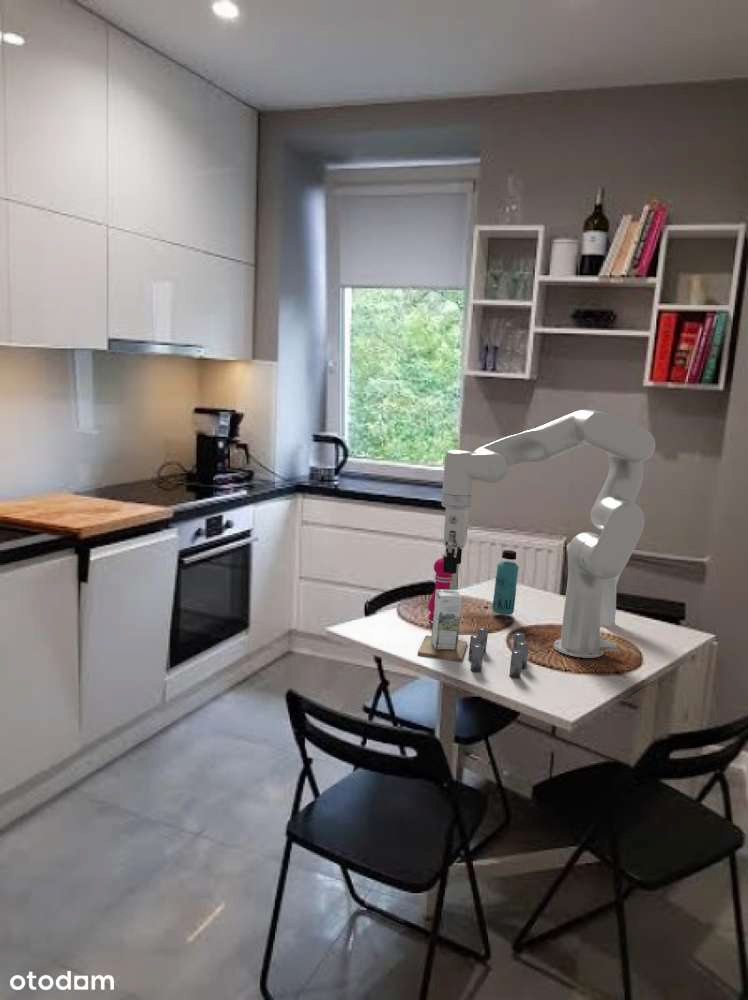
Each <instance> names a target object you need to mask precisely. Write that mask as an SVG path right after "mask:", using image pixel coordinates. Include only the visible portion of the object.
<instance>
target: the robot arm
mask: <svg viewBox="0 0 748 1000" xmlns="http://www.w3.org/2000/svg"><path fill="white" fill-rule="evenodd" d="M587 445H588V446H591V447H594V448H597V449H599V450H602V451H603V452H605V453H606V455H607V458H608V463H609V470H608V474H607V478H606V479H605V482H604V484H603V486H602V488H601V490H600V492H599V494H598V496H597V498H596V500H595V502H594V504H593V506H592V509H591V511H590V515H589V516H590V521H591V523H592V525H593V526H594V527H596V529H599V530H600V531H601V533H600V535H599V534H597V533H595V532H590V531H588V532H587V531H584V532H580V533H579V534H577V535H575V536H574V537H573V538H572V540H570V542H569V545H568V550H567V569H568V571H567V585H566V593H565V600H564V608H563V617H562V626H561V634H560V638H559V639H556V640H554V642H553V648H554V650H556V651H557V650H558V651H559V652H558V651H557V652H558V653H560V652H561V653H560V654H562V653H564V654H567V655H570V656H575V657H582V658H595V657H599V656H601V655H602V656H603V654H604V650H608V651H614V652H617V649H618V648H617V646H618V644H617V643H616V642H615V643H614V642H612V641H611V640H607V639H602V638H601V635H600V630H601V625H600V624H601V616H602V608H603V600H604V594H605V579H612V578H614V577H616V576H617V575H619V574H620V573H621V574H622V571H623V570H624V569H625V568H626V565H627V564H628V562H629V560H630V558H631V556H632V555H633V553H634V550H635V548H636V547H637V544H638V542H639V540H640V538H641V537H642V534H643V531H644V527H645V521H646V520H645V514H644V512H643V510H642V509H641V507H640V506H639V505H638V504H636V503H635V501H636V499H637V497H638V494H639V491H640V489H641V486H642V484H643V481H644V462H646V461H648V460H649V459H650V458H651V457H652V456H653V455H654V453H655V450H656V440H655V438H654V436H653V435H652V433H651V432H650V431H649V430H647V429H645V428H643V427H641V426H638V425H636V424H633V423H630V422H627V421H626V420H623V419H621V418H618V417H616V416H614V415H611V414H609V413H606V412H604V411H598V410H593V409H579V410H577V411H576V410H575V411H573V412H572V413H569V414H567V415H564V416H562V417H559V418H557V419H555V420H552V421H550V422H548V423H545V424H543V425H540V426H537V427H536V428H532V429H530V430H528V429H527V430H525V431H522V432H520V433H517V434H513V435H509V436H506V437H503V438H500V439H498V440H495V441H493V442H490V443H489V444H485V445H484V446H481V447H478V448H477V449H475V450H474V451H473V452H472V451H468V450H460V449H451V450H448V451H447V452H446V453H445V456H444V464H443V465H444V466H443V479H442V480H443V482H442V494H441V495H442V496H441V506H442V508H445V515H444V525H443V526H444V528H443V529H444V531H443V546H444V547H445V550H444V553H445V556H444V566H443V572H445V573H453V575H454V574H455V575H456V573H457V569H458V568H457V567H458V565H461V563H462V556H463V555H462V553H463V549H464V548H465V546H466V544H467V543H468V524H469V522H468V520H469V509H473V500H474V486H475V485H474V484H475V481H477V482H483V483H488V484H497V483H500V482H503V481H504V480H505V479H506V478H507V476H508V475H509V473H510V467H511V466H514V465H519V464H522V463H523V464H524V463H539V462H544V461H549V460H552V459H554V458H556V457H559V456H561V455H563V454H565V453H568V452H570V451H572V450H575V449H578V448H580V447H582V446H587ZM621 574H620V575H621ZM564 654H563V655H564ZM567 655H566V656H567ZM570 656H569V657H570ZM602 656H601V657H602ZM599 658H600V657H599Z"/></svg>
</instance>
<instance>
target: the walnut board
mask: <svg viewBox="0 0 748 1000" xmlns="http://www.w3.org/2000/svg"><path fill="white" fill-rule="evenodd" d="M467 646H468V641H467V640H462V639H461V640H459V639H458V644H457V650H435V648H434V646H433V645H432V643H431V635H425V636H424V639H423V641H422V642H421V644H420V647H419V648H418V650H417V656H420V657H421V656H423V657H429V658H435V659H440V660H448V661H454V662H462V661H463V659H464V655H465V652H466V648H467Z"/></svg>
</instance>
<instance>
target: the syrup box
mask: <svg viewBox="0 0 748 1000" xmlns="http://www.w3.org/2000/svg"><path fill="white" fill-rule="evenodd" d="M462 606H463V596H462V595H461V593H460V591H459V590H458V589H450V590H438V589H436V594H435V604H434V614H433V623H432V624H431V625H432V627H431V628H432V629H431V635H430V636H431V643H432V645H433V646H434V648H435V650H457V644H458V640H459V633H460V624H461V615H462Z"/></svg>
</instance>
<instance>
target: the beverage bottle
mask: <svg viewBox="0 0 748 1000" xmlns="http://www.w3.org/2000/svg"><path fill="white" fill-rule="evenodd" d="M501 554H502V555H501V558H502V559H505V560H501V561H499V562H498V563H497V564H496V565H497V566H496V576H495V580H494V582H495V583H494V593H493V596H492V597H493V599H492V604H491V605H492V611H493V612H494V613H496V614H498V615H504V616H505V615H508V616H510V615H512V614H513V613H514V611H515V603H516V595H517V585H518V576H519V567H520V566H519V565H518V564H517V563H516V562H515V561H513V560H517V552H516V551H515V550H510V549H504V550H502V553H501ZM511 560H512V561H511Z"/></svg>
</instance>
